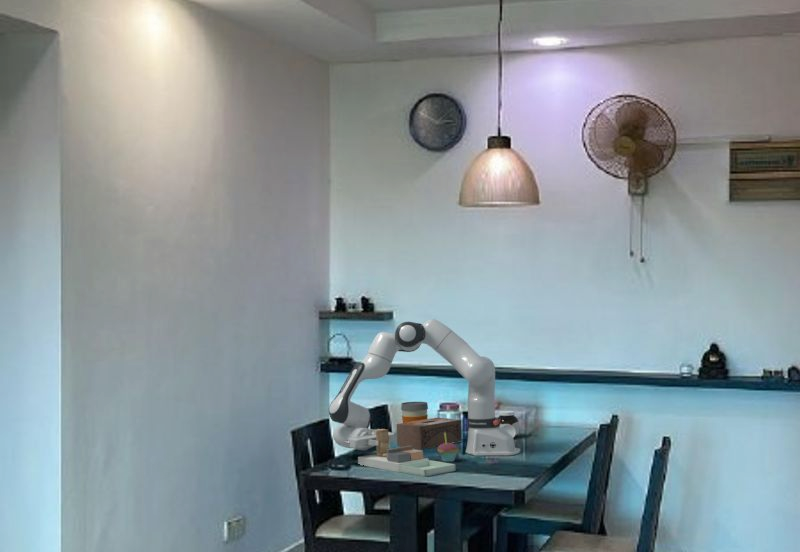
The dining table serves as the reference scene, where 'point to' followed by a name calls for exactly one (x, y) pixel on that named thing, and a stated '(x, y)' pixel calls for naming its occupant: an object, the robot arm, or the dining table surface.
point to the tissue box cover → (428, 432)
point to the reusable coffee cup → (414, 411)
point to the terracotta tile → (414, 454)
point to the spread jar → (509, 422)
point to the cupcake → (448, 451)
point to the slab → (383, 462)
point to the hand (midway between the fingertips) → (383, 442)
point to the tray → (427, 468)
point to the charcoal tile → (398, 457)
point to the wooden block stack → (386, 444)
